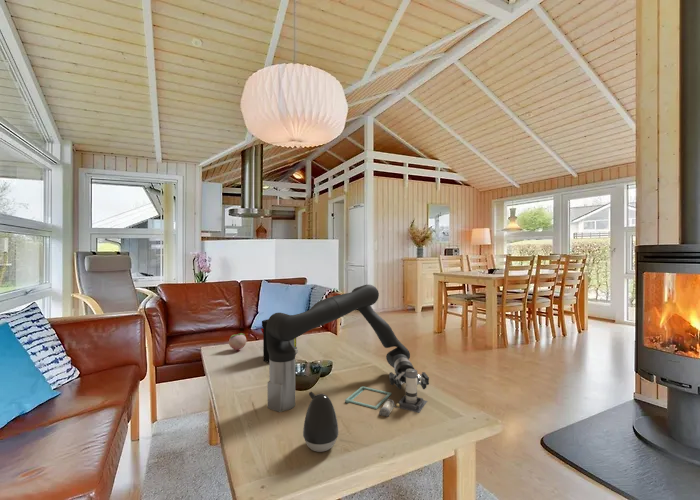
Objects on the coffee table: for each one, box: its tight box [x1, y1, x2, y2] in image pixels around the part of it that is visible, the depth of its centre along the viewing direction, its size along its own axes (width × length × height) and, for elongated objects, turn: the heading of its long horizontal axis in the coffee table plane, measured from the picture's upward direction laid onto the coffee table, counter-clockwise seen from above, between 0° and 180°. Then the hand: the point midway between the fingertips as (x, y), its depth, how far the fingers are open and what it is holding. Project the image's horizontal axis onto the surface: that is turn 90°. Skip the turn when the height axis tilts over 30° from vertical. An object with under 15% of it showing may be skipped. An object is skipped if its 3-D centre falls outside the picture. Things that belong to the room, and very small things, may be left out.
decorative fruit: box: [228, 332, 247, 351], centre depth 187 cm, size 9×8×10 cm
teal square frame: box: [344, 386, 392, 410], centre depth 129 cm, size 14×13×2 cm
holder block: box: [394, 393, 428, 414], centre depth 124 cm, size 10×9×2 cm
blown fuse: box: [405, 368, 418, 405], centre depth 124 cm, size 4×4×12 cm
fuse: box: [378, 398, 395, 417], centre depth 119 cm, size 8×3×3 cm, turn 159°
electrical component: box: [260, 318, 299, 363], centre depth 177 cm, size 18×10×20 cm, turn 148°
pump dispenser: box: [302, 391, 339, 453], centre depth 100 cm, size 10×10×15 cm
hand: (412, 386), depth 122 cm, fingers open, 8 cm apart
